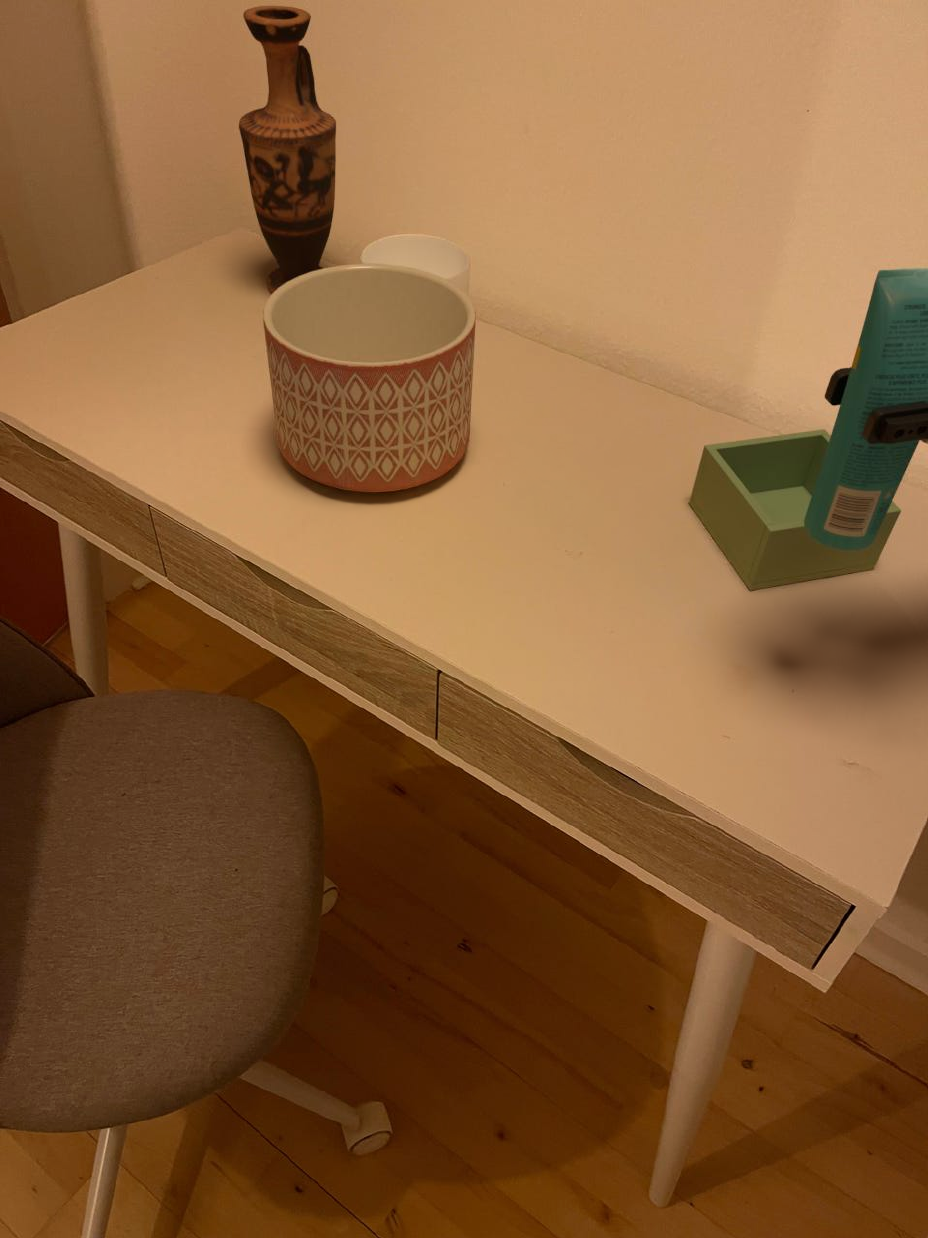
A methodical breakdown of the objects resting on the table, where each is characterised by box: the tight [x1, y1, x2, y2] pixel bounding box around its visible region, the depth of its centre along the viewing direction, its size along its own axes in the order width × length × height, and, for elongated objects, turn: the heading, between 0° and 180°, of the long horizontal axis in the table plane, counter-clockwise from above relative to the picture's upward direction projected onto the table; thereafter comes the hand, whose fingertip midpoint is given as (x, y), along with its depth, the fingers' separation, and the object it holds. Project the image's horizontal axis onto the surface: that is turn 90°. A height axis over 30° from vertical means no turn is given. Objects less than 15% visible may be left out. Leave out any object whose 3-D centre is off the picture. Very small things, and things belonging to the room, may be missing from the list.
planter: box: [262, 263, 477, 493], centre depth 90 cm, size 19×19×15 cm
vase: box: [238, 5, 337, 294], centre depth 109 cm, size 11×11×30 cm
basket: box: [688, 428, 902, 591], centre depth 86 cm, size 13×13×7 cm
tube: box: [804, 267, 928, 551], centre depth 60 cm, size 7×5×19 cm, turn 104°
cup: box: [359, 233, 471, 298], centre depth 104 cm, size 12×12×12 cm
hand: (850, 407), depth 58 cm, fingers closed on tube, 3 cm apart
